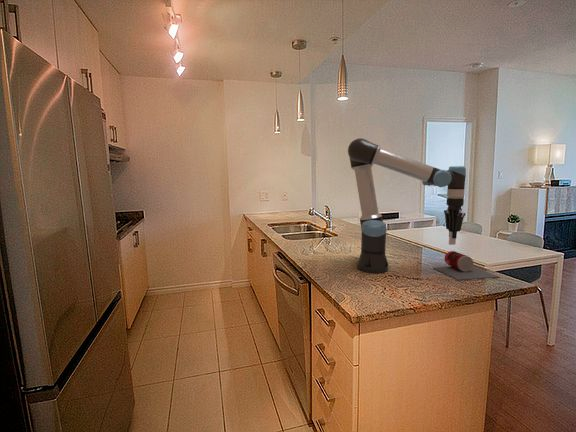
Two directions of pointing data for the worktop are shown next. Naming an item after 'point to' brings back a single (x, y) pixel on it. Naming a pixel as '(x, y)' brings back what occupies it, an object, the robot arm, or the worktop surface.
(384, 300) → the worktop surface
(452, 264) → the canned food
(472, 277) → the rubber mat
